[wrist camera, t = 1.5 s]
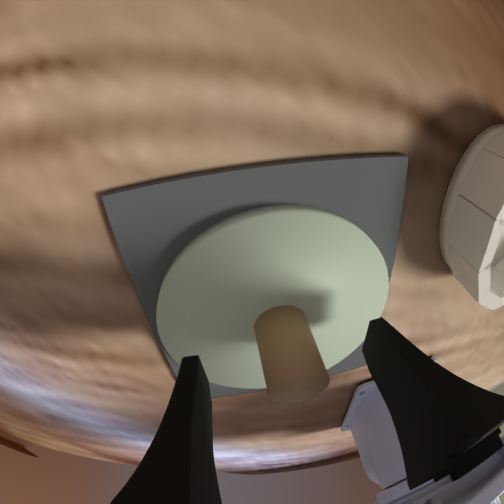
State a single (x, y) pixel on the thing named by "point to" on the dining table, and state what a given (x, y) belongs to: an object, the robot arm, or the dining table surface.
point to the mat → (245, 198)
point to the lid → (273, 298)
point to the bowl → (477, 219)
